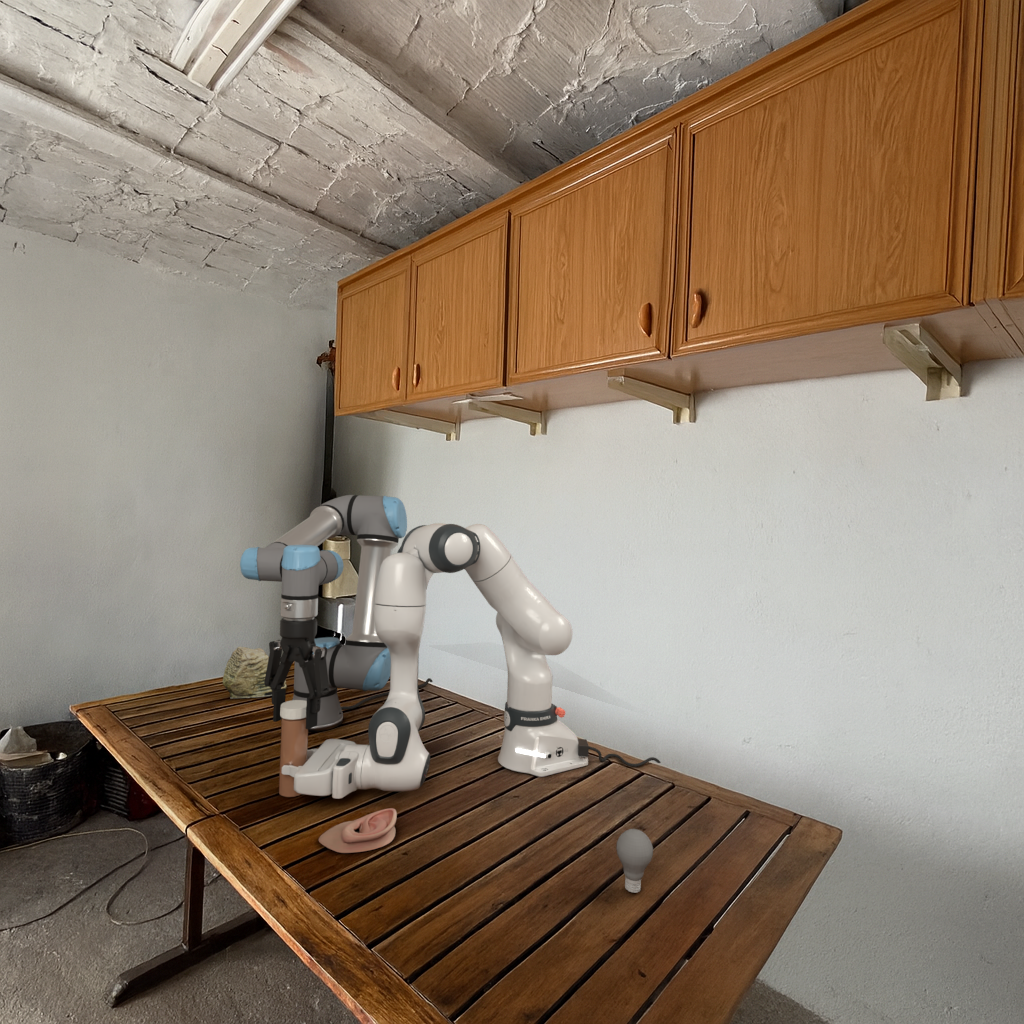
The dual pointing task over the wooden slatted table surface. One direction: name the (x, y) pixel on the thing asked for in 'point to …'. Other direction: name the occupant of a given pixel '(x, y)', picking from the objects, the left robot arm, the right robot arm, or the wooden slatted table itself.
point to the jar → (292, 752)
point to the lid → (293, 709)
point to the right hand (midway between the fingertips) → (289, 762)
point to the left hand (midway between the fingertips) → (295, 723)
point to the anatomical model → (362, 833)
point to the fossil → (247, 673)
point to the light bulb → (634, 857)
